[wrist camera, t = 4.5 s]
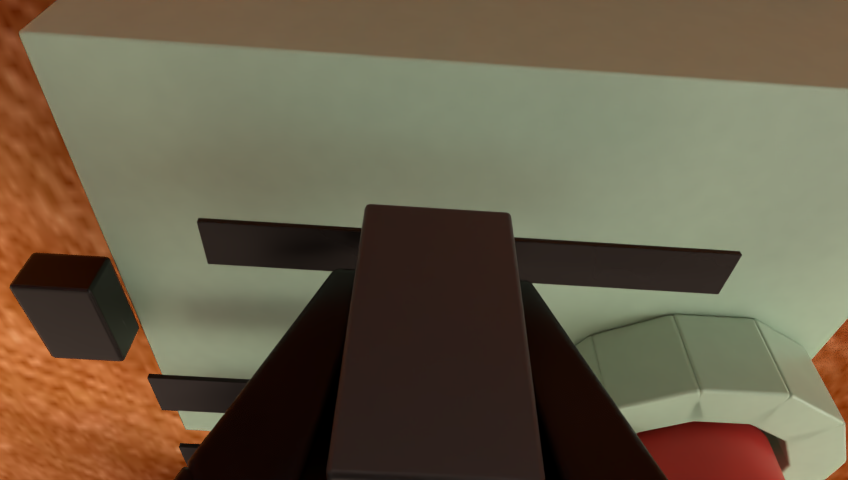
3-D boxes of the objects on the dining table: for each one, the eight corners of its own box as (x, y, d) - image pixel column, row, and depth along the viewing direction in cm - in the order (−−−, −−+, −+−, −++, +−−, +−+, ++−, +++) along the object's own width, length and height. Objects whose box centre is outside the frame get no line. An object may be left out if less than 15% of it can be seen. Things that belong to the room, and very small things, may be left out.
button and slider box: (918, 4, 12) (1179, 181, 8) (694, 357, 21) (760, 535, 17) (119, -55, 12) (-67, 99, 8) (224, 330, 20) (165, 506, 16)
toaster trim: (698, 171, 10) (742, 255, 9) (583, 414, 16) (598, 491, 15) (-38, 123, 10) (-123, 202, 9) (108, 389, 16) (72, 465, 14)
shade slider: (512, 209, 8) (548, 485, 5) (486, 329, 10) (503, 582, 7) (364, 201, 8) (323, 475, 5) (365, 322, 10) (335, 574, 7)
